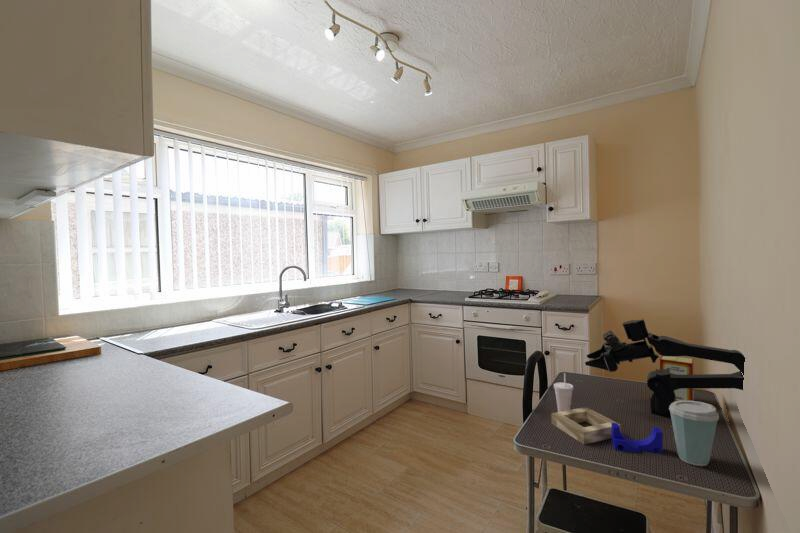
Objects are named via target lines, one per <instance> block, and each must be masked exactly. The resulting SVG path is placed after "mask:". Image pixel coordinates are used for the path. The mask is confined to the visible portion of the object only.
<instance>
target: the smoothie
mask: <svg viewBox="0 0 800 533" xmlns="http://www.w3.org/2000/svg"><path fill="white" fill-rule="evenodd" d="M553 389H554V392H555V393H554V394H555V399H556V407H557V412H561V411H567V410H571V406H572V396H573V391H574V385H573V384H571V383H569V382H568V383H567V374H566V372H563V382H562V381H561V382H555V383H553Z"/></svg>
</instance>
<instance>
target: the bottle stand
mask: <svg viewBox="0 0 800 533" xmlns="http://www.w3.org/2000/svg"><path fill="white" fill-rule="evenodd" d="M550 415H551V421H550V422H551V425H553V426H554V427H556V428H558V429H559V430H560V431H562V432H563V433H566V434H567V435H569V436H570V437H571V438H573V439H575V440H576V441H578V442H579V443H581V444H583V445H587V444H592V443H597V442H600V441H605V440H609V439H612V423H617V424H618V426H619V428H620V432H621V433H622V424H620V423H618V422H616V421H614V420H613V419H610V418H609V417H606V416H605V415H603V414H600V413H599V412H596V411H595V410H593V409H590V408H589V407H587V406H583V407H578V408H573V409H570V410H567V411H561V412H558V411H557V412H551V414H550ZM584 422H586V423H588V424H590V426H585V427H584V426H582V425H581V424H580V423H584Z"/></svg>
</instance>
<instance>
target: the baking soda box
mask: <svg viewBox="0 0 800 533" xmlns="http://www.w3.org/2000/svg"><path fill="white" fill-rule="evenodd" d="M660 356H661V357H659V370H664V369H670V373H672V374H676V375H695V372H694V369H695V368H694V366H695V363H694V362H695V359H694V358H691V357H689V358H688V357H683V356H678V357H673V356H662V355H660ZM694 389H695V388H681V389H677V390H674V392H675V396H676V401H681V400H683V401H695V400H694V397H695V396H694V392H695V390H694Z"/></svg>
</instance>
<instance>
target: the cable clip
mask: <svg viewBox="0 0 800 533" xmlns="http://www.w3.org/2000/svg"><path fill="white" fill-rule="evenodd" d="M617 423H618V422H617ZM617 423H612V438H611V444H612V446H613V448H614V450H615V451H620V452H622V451H623V452H628V453H629V452H630V453H638V454H640V451H644V452H650V453H660V454H663V451H664V450H663V446H664V445H663V441H664V440H663V437H664V436H663V432H662V430H661V428H660V427H654V426H653V427H652V430H651V433H650V435H648V436H647V437H646V438H644V439H640V440H634V439H630V438H628V437H626V436H625V435H624V434H623V433H622V431H621V432H620V428H619V426H618V424H619V423H618V424H617Z"/></svg>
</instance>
